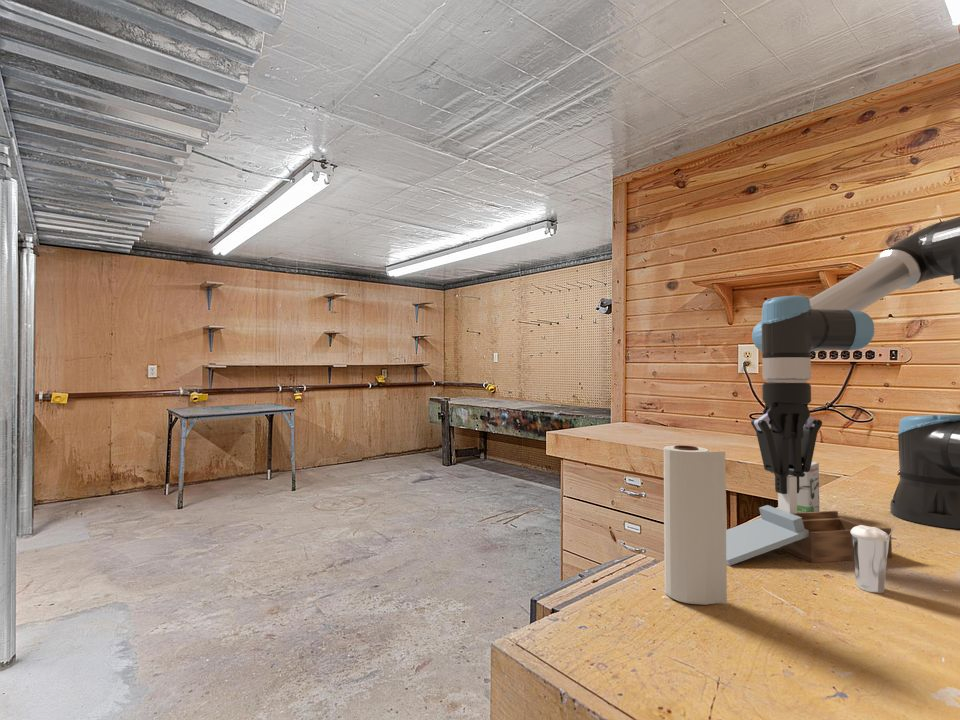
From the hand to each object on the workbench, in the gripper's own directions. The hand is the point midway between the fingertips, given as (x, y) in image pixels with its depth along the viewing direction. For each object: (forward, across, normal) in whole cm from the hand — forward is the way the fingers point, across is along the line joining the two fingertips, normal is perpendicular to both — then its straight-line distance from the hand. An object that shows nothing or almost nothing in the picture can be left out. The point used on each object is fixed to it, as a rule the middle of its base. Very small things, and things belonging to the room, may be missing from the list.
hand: (787, 511), depth 88 cm
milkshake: (+7, 0, +16) cm, 17 cm away
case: (+7, -8, 0) cm, 10 cm away
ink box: (+7, -22, -20) cm, 30 cm away
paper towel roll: (+7, +28, +14) cm, 33 cm away
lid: (+5, +8, 0) cm, 9 cm away
